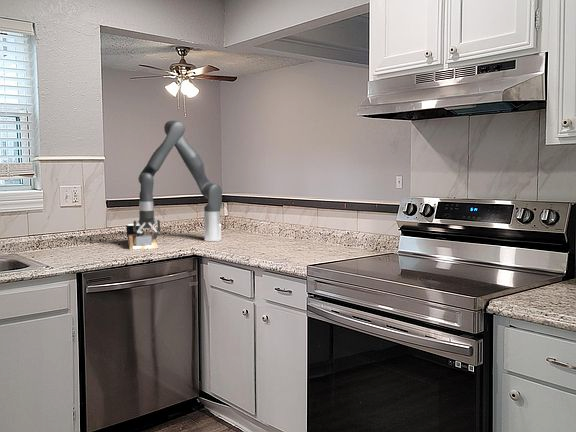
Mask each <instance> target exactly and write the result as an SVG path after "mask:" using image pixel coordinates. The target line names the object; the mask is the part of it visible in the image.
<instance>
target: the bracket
mask: <svg viewBox="0 0 576 432" xmlns="http://www.w3.org/2000/svg"><path fill="white" fill-rule="evenodd" d="M148 234H149V235H143V236H136V246H152V236H151V234H152V233H148Z"/></svg>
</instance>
